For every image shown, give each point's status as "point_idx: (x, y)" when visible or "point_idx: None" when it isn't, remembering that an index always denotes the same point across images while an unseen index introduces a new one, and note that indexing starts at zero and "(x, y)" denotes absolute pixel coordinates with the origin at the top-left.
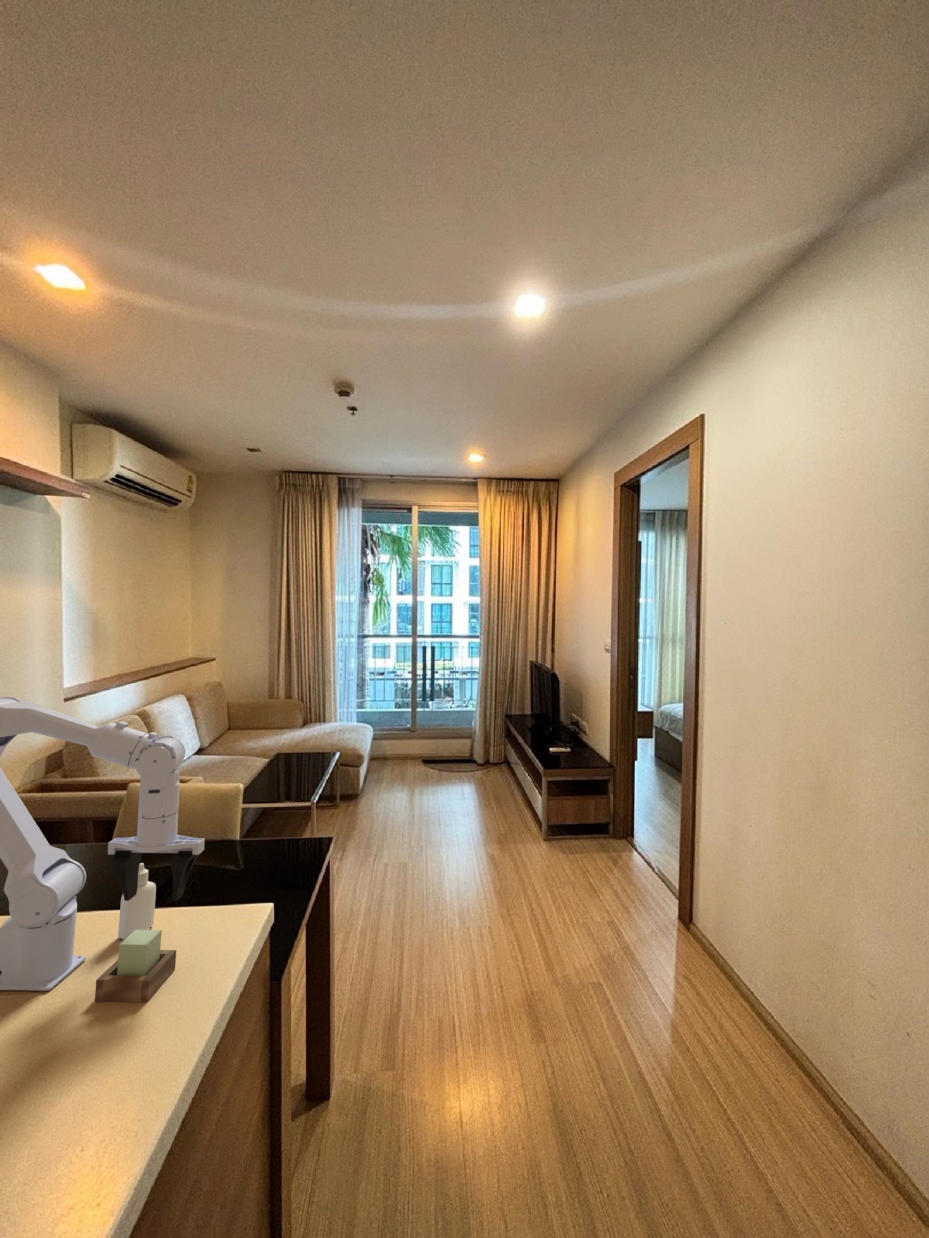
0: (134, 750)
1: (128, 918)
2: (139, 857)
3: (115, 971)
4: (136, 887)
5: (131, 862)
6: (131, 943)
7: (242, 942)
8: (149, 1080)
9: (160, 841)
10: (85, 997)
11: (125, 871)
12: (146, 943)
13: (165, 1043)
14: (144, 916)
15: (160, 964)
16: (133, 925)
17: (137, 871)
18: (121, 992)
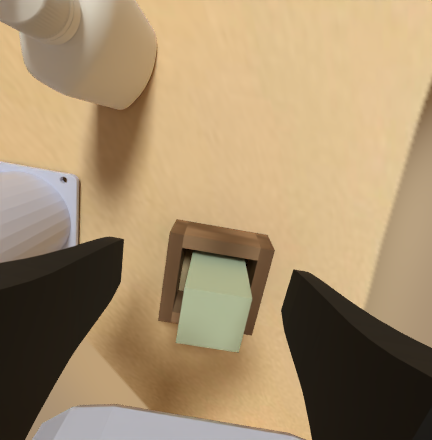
0: None
1: (102, 103)
2: (4, 315)
3: (176, 288)
4: (112, 252)
5: (8, 399)
6: (201, 343)
7: (391, 155)
8: (293, 426)
9: None
10: (146, 286)
11: (37, 415)
12: (235, 346)
13: (297, 384)
14: (136, 70)
15: (256, 294)
16: (123, 98)
17: (69, 276)
18: None
